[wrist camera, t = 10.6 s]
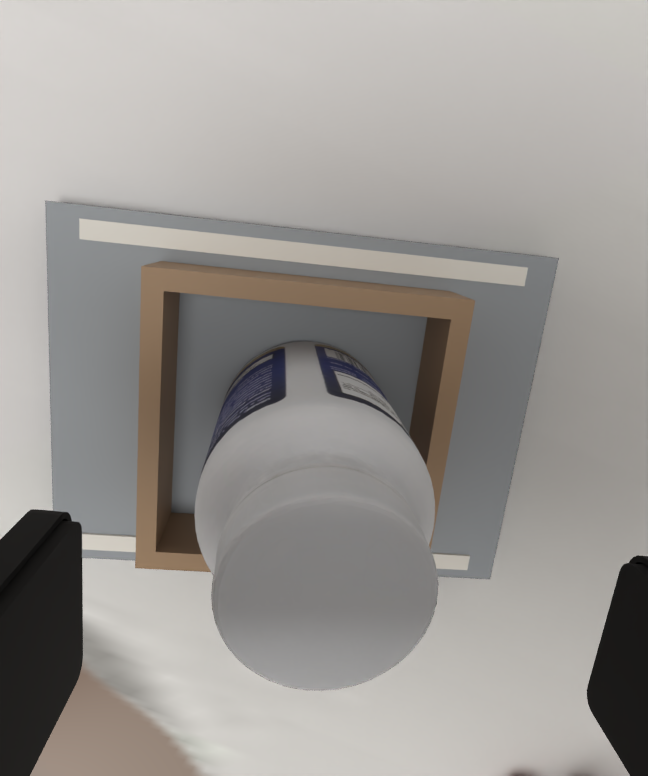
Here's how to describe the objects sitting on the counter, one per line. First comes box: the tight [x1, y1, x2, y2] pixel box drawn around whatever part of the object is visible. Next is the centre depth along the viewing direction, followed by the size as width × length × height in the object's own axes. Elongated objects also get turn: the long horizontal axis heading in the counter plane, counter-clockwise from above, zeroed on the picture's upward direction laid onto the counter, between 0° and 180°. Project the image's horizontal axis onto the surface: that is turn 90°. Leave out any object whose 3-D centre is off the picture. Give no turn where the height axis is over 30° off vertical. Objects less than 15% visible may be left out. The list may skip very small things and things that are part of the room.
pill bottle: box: [194, 341, 438, 690], centre depth 14 cm, size 5×5×10 cm
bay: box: [45, 201, 559, 579], centre depth 18 cm, size 16×12×4 cm
